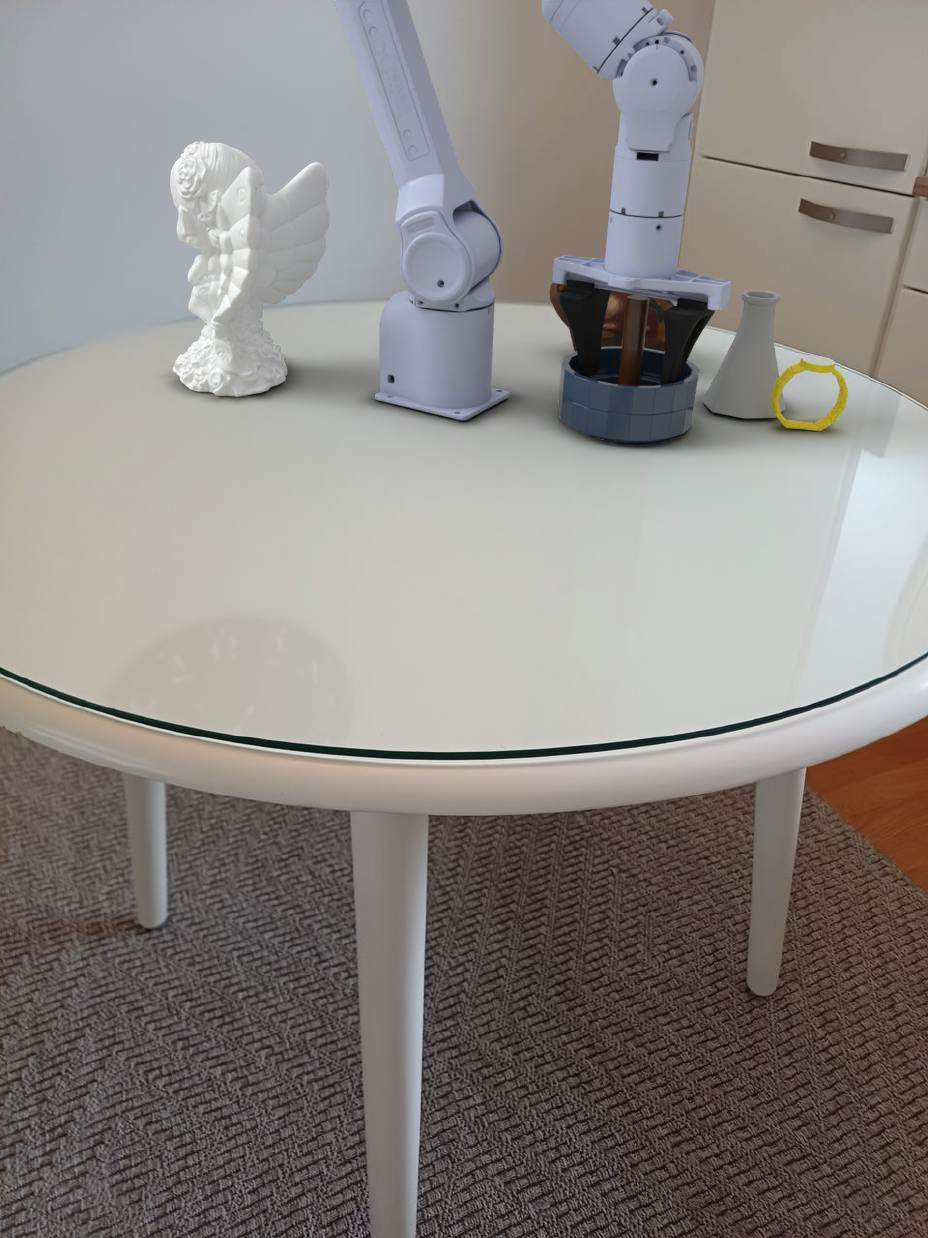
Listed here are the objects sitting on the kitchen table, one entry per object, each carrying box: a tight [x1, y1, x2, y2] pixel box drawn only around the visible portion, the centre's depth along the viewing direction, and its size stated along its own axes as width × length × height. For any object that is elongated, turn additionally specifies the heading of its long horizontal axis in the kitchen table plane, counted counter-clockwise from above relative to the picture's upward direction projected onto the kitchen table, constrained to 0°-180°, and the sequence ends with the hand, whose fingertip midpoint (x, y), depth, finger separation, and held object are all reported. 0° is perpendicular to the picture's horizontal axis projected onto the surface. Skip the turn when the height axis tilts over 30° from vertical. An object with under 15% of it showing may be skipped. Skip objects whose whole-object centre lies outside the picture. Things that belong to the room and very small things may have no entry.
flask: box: [701, 289, 786, 419], centre depth 94 cm, size 7×7×10 cm
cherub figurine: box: [169, 140, 331, 398], centre depth 96 cm, size 13×12×20 cm
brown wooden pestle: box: [618, 295, 649, 386], centre depth 90 cm, size 4×4×10 cm
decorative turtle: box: [549, 282, 675, 352], centre depth 106 cm, size 10×15×8 cm, turn 70°
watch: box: [771, 354, 849, 432], centre depth 91 cm, size 6×3×6 cm, turn 89°
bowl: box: [557, 346, 700, 444], centre depth 91 cm, size 11×11×5 cm
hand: (628, 382), depth 91 cm, fingers open, 7 cm apart
